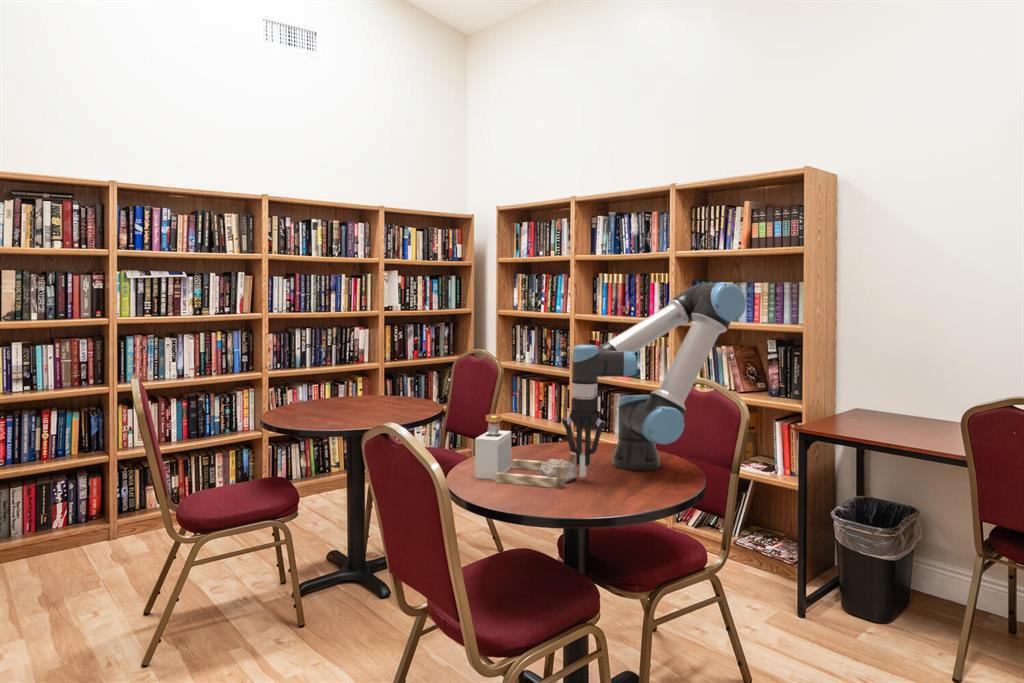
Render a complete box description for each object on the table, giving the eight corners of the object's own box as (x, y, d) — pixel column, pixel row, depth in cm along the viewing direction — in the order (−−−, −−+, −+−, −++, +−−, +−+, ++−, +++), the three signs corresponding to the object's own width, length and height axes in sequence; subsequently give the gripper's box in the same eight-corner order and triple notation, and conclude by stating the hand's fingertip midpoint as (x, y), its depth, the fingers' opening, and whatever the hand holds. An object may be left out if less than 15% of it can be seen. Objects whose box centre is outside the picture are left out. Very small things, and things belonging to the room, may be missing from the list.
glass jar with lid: (503, 441, 206) (503, 414, 206) (498, 445, 202) (498, 417, 201) (488, 440, 208) (488, 413, 207) (483, 443, 203) (483, 416, 203)
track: (576, 471, 207) (576, 452, 207) (563, 488, 189) (563, 467, 189) (514, 466, 213) (514, 448, 213) (495, 482, 195) (495, 462, 195)
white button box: (511, 468, 211) (511, 431, 210) (497, 479, 198) (497, 440, 197) (490, 466, 213) (490, 429, 212) (475, 477, 200) (475, 438, 199)
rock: (559, 473, 206) (559, 454, 206) (581, 481, 197) (581, 462, 197) (529, 478, 200) (529, 459, 200) (551, 486, 191) (551, 466, 191)
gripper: (608, 396, 197) (606, 474, 198) (565, 394, 201) (564, 470, 202) (604, 400, 190) (602, 481, 191) (560, 397, 193) (558, 477, 195)
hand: (582, 475), depth 197 cm, fingers closed
